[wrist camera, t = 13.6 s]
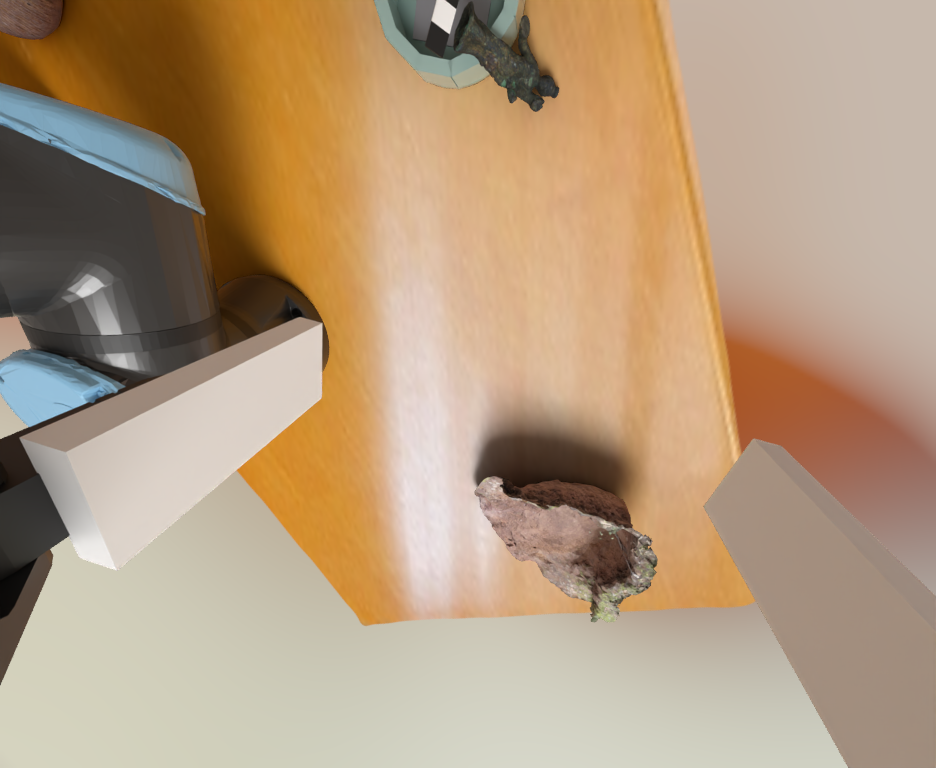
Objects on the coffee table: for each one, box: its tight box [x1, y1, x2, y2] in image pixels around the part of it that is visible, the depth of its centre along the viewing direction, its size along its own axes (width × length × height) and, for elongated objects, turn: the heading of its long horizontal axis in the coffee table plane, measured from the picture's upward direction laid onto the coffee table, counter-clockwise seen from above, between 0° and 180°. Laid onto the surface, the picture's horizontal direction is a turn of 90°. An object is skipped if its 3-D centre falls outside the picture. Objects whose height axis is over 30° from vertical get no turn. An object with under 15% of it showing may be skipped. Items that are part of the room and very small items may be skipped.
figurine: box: [425, 0, 559, 112], centre depth 25 cm, size 6×4×12 cm
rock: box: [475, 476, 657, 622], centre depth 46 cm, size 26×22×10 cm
